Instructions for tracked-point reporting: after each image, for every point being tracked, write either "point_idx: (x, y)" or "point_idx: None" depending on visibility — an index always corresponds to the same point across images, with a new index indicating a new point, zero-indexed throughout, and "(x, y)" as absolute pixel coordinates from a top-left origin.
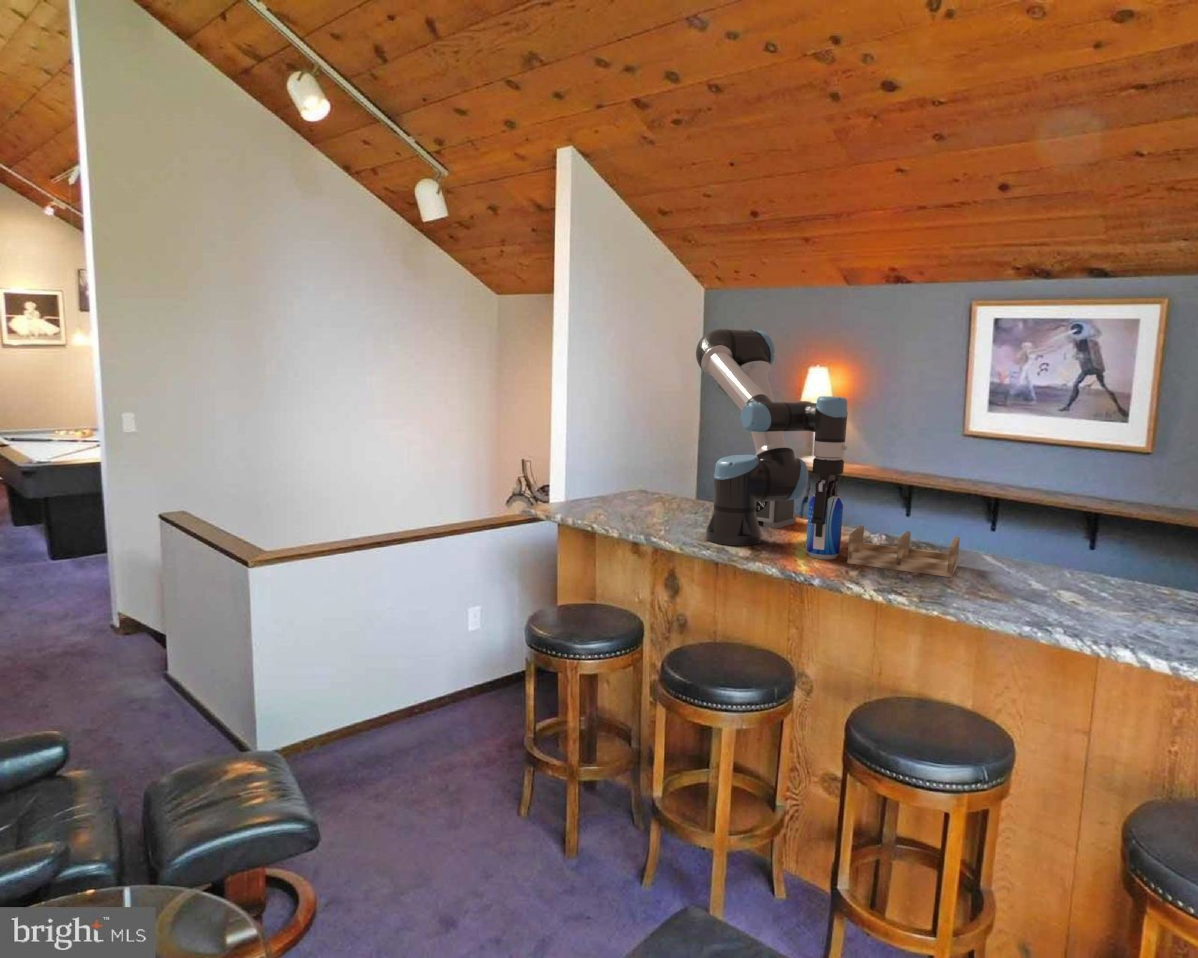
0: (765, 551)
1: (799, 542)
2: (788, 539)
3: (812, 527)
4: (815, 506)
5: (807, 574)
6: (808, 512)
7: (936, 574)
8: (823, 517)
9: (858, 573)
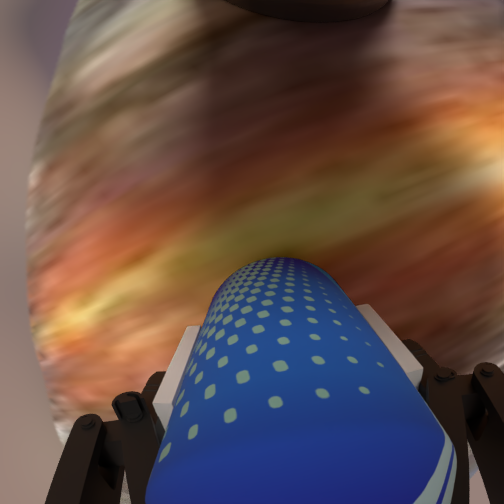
0: (195, 95)
1: (444, 152)
2: (455, 103)
3: (188, 365)
4: (56, 495)
5: (40, 345)
6: (222, 378)
7: None
8: (117, 479)
9: None
